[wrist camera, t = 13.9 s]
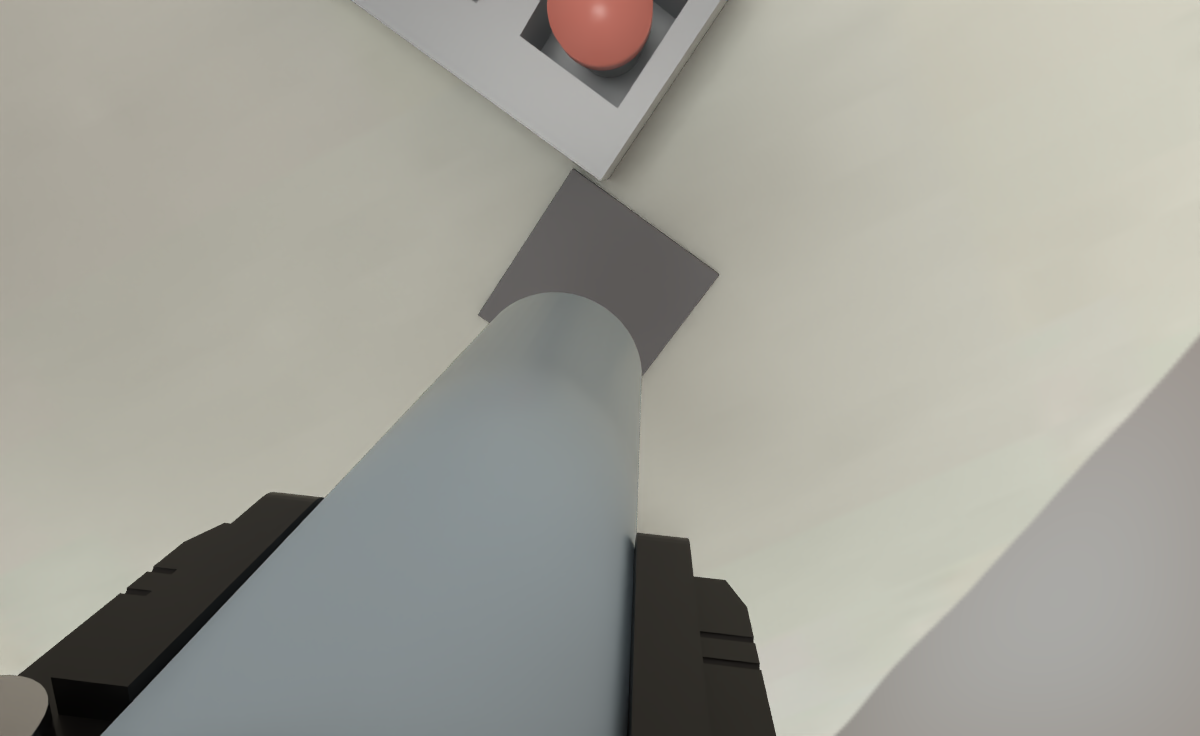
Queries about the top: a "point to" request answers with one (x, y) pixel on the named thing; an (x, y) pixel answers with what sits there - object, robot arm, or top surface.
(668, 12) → the housing
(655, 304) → the mat
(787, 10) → the top surface
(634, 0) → the plunger
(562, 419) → the cartridge
